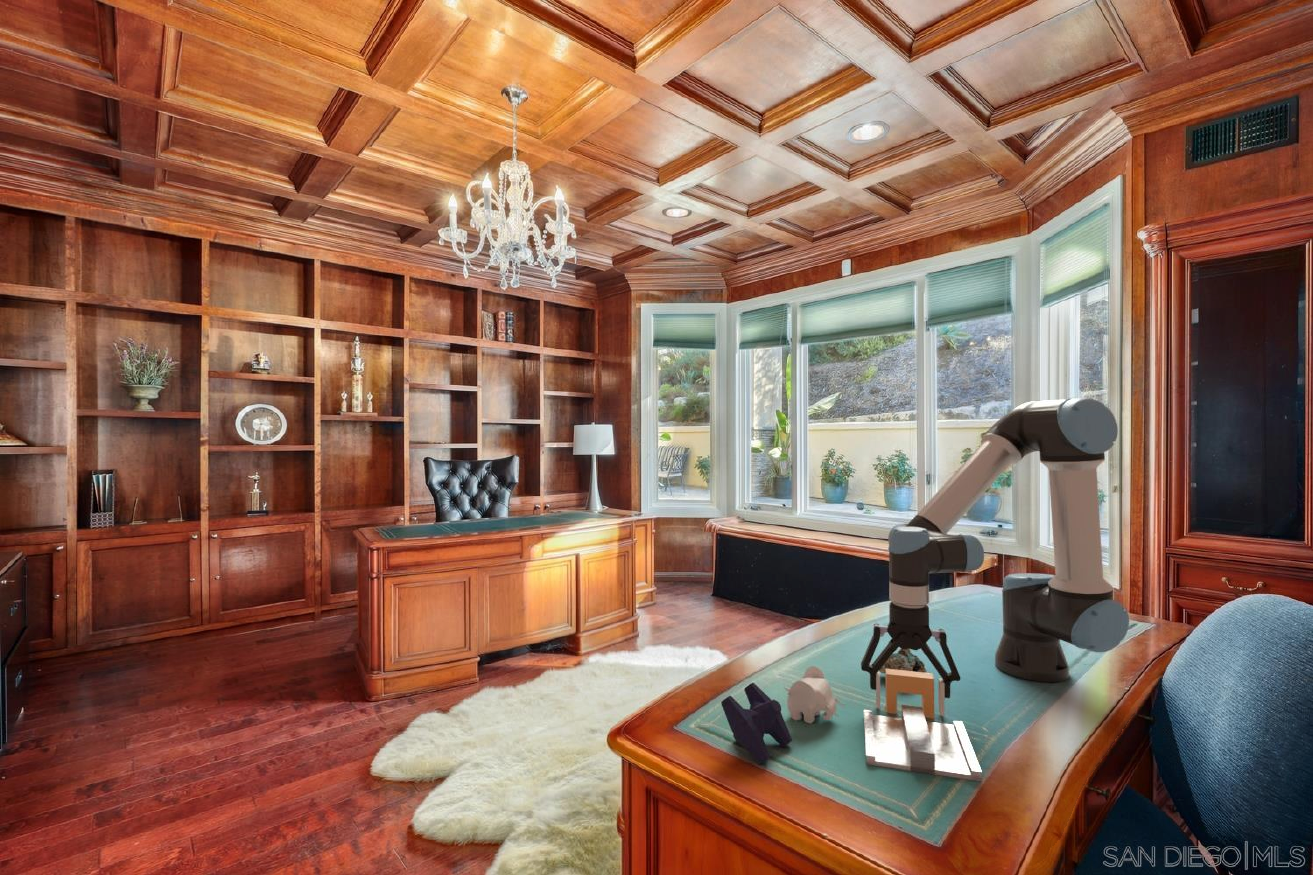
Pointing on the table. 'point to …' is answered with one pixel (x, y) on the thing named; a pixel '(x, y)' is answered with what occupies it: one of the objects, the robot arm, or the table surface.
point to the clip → (910, 689)
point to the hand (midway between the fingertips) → (909, 708)
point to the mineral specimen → (904, 662)
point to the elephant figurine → (811, 697)
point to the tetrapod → (756, 722)
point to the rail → (919, 745)
